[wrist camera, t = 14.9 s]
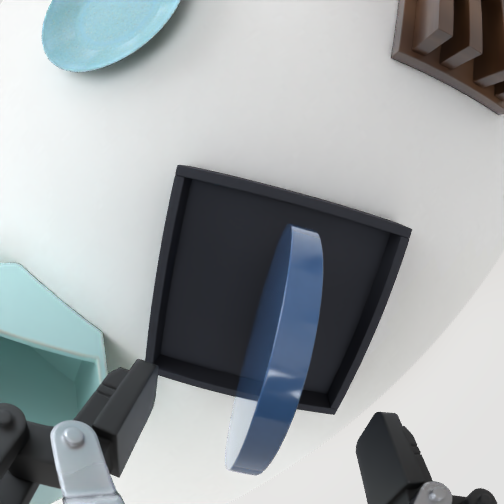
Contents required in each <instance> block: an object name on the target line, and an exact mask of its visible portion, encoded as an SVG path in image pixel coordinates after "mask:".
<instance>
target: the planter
mask: <svg viewBox="0 0 504 504" xmlns="http://www.w3.org/2000/svg"><path fill="white" fill-rule="evenodd" d="M107 375H108V370H107V362H106V355H105V346H104V338H103V333H102V332H101V331H100V330H99V329H97V328H96V327H95V326H93V325H92V324H91V323H89V322H88V321H87V320H85V319H84V318H83V317H82V316H80V315H79V314H78V313H76V312H75V311H74V310H73V309H71V308H70V307H69V306H68V305H66V304H65V303H64V302H63V301H61V300H60V299H59V298H58V297H57V296H55V295H54V294H53V293H52V292H51V291H49V290H48V289H47V288H46V287H45V286H44V285H43V284H41V283H40V282H39V281H38V280H37V279H36V278H35V277H33V276H32V275H31V274H30V273H29V272H28V271H27V270H26V269H25V268H23V267H22V266H21V265H20V264H18V263H0V403H9V404H12V405H15V406H16V407H18V408H19V409H20V410H21V411H22V412H23V413H24V415H25V418H26V420H27V421H31V422H34V423H38V424H42V425H47V426H56V425H57V424H58V423H60V422H63V421H68V420H73V419H74V418H75V417H76V415H77V414H78V413H79V411H80V410H81V409H82V407H83V406H84V405H85V403H86V402H87V401H88V400H89V398H90V397H91V396H92V394H93V393H94V392H96V389H97V388H98V386H99V385H100V384H102V381H103V380H104V379H105V377H106V376H107ZM61 498H63V495H62V491H61V489H58V488H54V487H50V486H46V485H42V484H40V485H39V487H38V489H37V490H36V492H35V494H34V496H33V498H32V499H31V501H30V503H29V504H51V503H53V502H55V501H57V500H59V499H61Z"/></svg>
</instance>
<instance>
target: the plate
mask: <svg viewBox="0 0 504 504" xmlns="http://www.w3.org/2000/svg"><path fill="white" fill-rule="evenodd" d="M322 287H323V250H322V243H321V239H320V236H319V234H318V233H317V232H316V231H315V230H313V229H309V228H306V227H302V226H298V225H295V224H288V225H287V226H286V227H285V229H284V230H283V232H282V235H281V237H280V239H279V242H278V244H277V247H276V250H275V252H274V255H273V258H272V261H271V264H270V267H269V271H268V274H267V277H266V280H265V284H264V287H263V290H262V294H261V297H260V301H259V304H258V308H257V312H256V315H255V319H254V323H253V326H252V330H251V334H250V338H249V342H248V346H247V349H246V353H245V357H244V362H243V366H242V370H241V374H240V378H239V383H238V387H237V391H236V396H235V401H234V405H233V410H232V415H231V420H230V426H229V431H228V437H227V444H226V453H225V465H226V469H227V470H229V471H233V472H239V473H244V474H249V475H259V474H261V473H262V472H263V471H264V470H265V469H266V468H267V467H268V466H269V464H270V463H271V462H272V460H273V459H274V457H275V455H276V454H277V452H278V450H279V448H280V446H281V444H282V442H283V440H284V438H285V436H286V434H287V432H288V429H289V427H290V424H291V422H292V420H293V417H294V415H295V412H296V409H297V406H298V403H299V400H300V397H301V394H302V391H303V387H304V384H305V380H306V377H307V373H308V370H309V365H310V361H311V357H312V353H313V348H314V344H315V338H316V333H317V327H318V321H319V315H320V307H321V299H322Z"/></svg>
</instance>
